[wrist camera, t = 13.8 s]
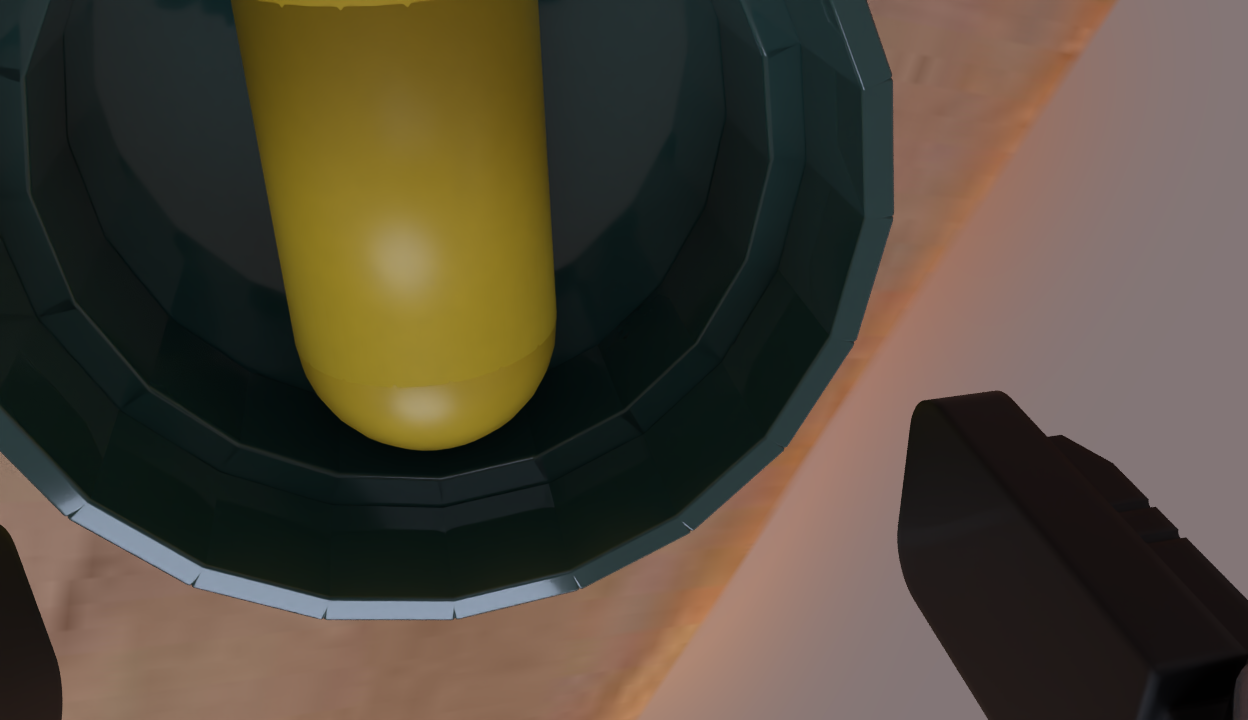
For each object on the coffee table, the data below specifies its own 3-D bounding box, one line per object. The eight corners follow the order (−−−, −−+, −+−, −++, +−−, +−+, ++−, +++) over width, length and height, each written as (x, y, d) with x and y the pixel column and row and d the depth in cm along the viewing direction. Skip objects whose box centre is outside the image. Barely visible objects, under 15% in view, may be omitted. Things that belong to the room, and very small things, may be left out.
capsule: (380, -211, 19) (128, -187, 16) (592, -204, 17) (342, -174, 14) (444, 345, 25) (263, 443, 22) (612, 415, 22) (435, 537, 19)
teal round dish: (155, -518, 17) (72, -617, 12) (904, -59, 22) (1073, 13, 17) (-95, 297, 21) (-232, 482, 16) (571, 509, 27) (624, 696, 22)
